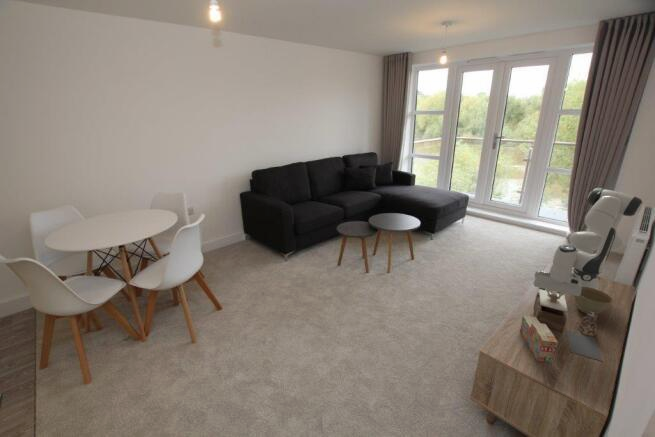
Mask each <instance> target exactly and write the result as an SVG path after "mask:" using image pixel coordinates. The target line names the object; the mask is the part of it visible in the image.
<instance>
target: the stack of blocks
mask: <svg viewBox="0 0 655 437" xmlns="http://www.w3.org/2000/svg"><path fill="white" fill-rule="evenodd" d="M519 331H520V333H521V335H522V337H523V338H524V340H525V342H526V344H527V345H528V347H529V349H530V351H531V353H532V354H533V356H534V359H535V360H536V361H537V362H544V363H549V364H551V363H553V360H554V355H555V353H556V352H557V346H558V345H559V341H558V339H557V338H556V336H555V334H553V333H552V330H551V329H549V328H548V327H547V326H546V324H540V322H539V321H538V320H537V318H536V317H534V316H528V315H527V316H525V315H522V318H521V323H520V328H519Z"/></svg>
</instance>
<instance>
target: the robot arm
mask: <svg viewBox="0 0 655 437" xmlns="http://www.w3.org/2000/svg"><path fill="white" fill-rule="evenodd" d="M587 203H588V204H589V205H590V206H592V207H591V208H590V209H589V211H588V212H587V214H586V215H585V217H584V224H585V226H586V227H587V228H588V229H589V230H590V231H584V230H583V231H574V232H573V233H571V235H570V236H569V240H568V241H569V243H570V244H561V245H559V246H558V247H557V249H556V250H555V253H554V254H553V255H554V256H553V259H552V264H551V266H550V269H549V272H548V271H542V270H539V271H538V270H537V271H535V272H534V279H533V282H532V283H533V286H534V287H536V288H538V289H539V288H543V289H545V291H547V293H548V294H547V296H548V297H551V293H549V291H551V290H552V291H556V292H560V294H559V295H557V296H558V299H560V297H561V296H563V295H564V296H565V294H567V295H571V296H573V297H575V296H580V294H581V287H589V288H594V289H597V290H599V288H598V287H599V284H600V280H599V279H598V276H599V275H600V274H602V273H603V271H604V270H605V268H606V263H607V259H608V257H609V254H610V252H616V251H619V250H621V249H622V247H623V246H624V241H623V239H622V237H621V236H620V235H619V234H618V233H617V229H618V226H619V224H620V222H621V220H622V219H623V217H624V216H626V217H632V216H635V215H636V214H638V213H640V212H641V210H642V208H643V200H642V198H640V197H637V196H633V195H630V194H628V193H625V192H621V191H615V190H611V189H605V188H603V187H596V188H593V190H592V191H591V192H589V193H588V195H587ZM594 251H596V253H594Z"/></svg>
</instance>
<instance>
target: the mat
mask: <svg viewBox="0 0 655 437" xmlns="http://www.w3.org/2000/svg"><path fill="white" fill-rule="evenodd" d="M565 334H566V339H567V343H568V348H569V352H570V353H573V354H576V355H580V356H583V357H585V358H589V359H593V360H596V361H599V362H604V361H603V358H602V355H601V352H600V349H599V345H598V343H597V340H596V338H595V337H591V336H589V335H585V334H580V333H578V332H577V333H576V332H572V331H570V330H565Z"/></svg>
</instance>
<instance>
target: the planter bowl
mask: <svg viewBox="0 0 655 437" xmlns="http://www.w3.org/2000/svg"><path fill="white" fill-rule="evenodd" d="M597 289H598V288H597ZM597 289H594V288H589V287H581V294H580V296H574V300H575V303H576V305H577V309H579V310H580V312H583V313H584V314H586V315H587V314H588V312H590V311H591V310H594V312H595V313H596V314H597V316H598V315H599V314H600V313H603V312H605V311H606V310H607V309H608V308H609V307H610V306H611V304H612V303H613V297H612V296H610V295H609V294H608V293H606V292H605V291H602V290H600V289H598V290H597Z"/></svg>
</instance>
